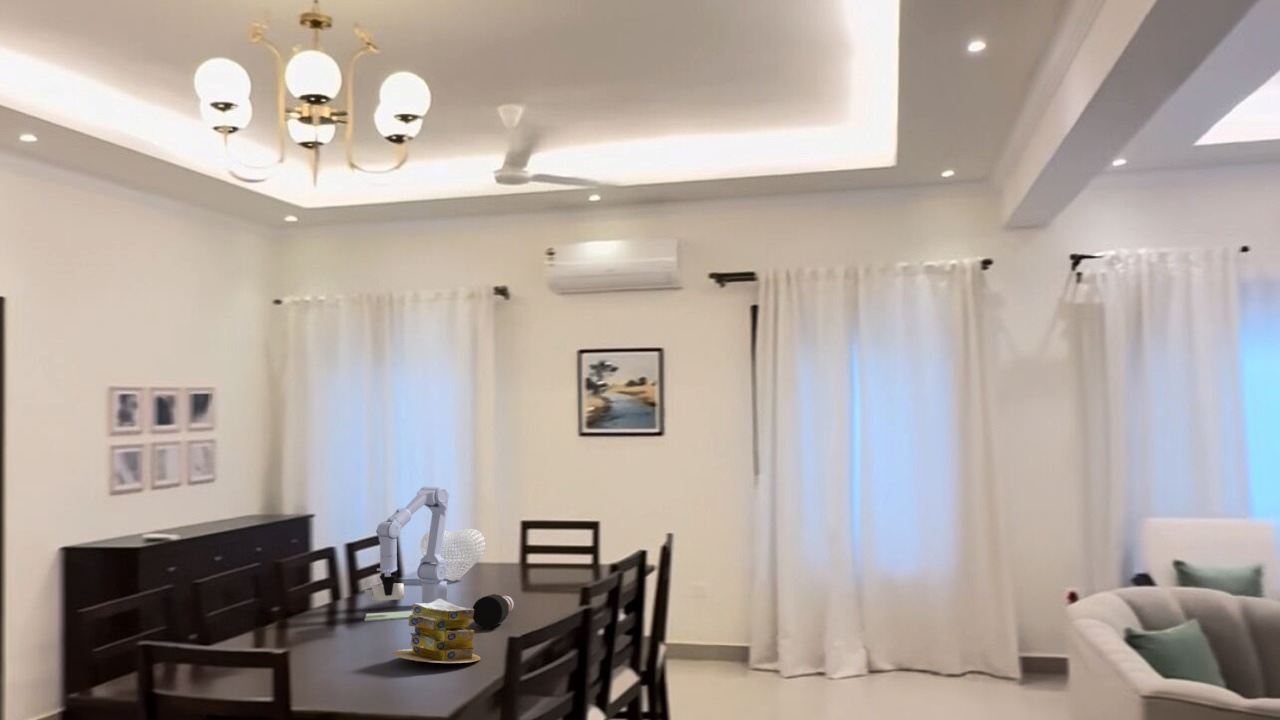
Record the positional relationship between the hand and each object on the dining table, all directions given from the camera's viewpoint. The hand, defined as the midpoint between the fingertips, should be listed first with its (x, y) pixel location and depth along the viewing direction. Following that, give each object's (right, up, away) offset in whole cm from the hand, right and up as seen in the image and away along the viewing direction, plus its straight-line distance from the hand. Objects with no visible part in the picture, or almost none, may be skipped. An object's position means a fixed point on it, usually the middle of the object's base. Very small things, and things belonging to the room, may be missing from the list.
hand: (388, 594), depth 344 cm
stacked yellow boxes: (+31, -4, -65) cm, 72 cm away
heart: (+9, -12, +72) cm, 74 cm away
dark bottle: (+40, -7, -8) cm, 42 cm away
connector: (-1, -2, 0) cm, 2 cm away
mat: (0, -8, 0) cm, 8 cm away
